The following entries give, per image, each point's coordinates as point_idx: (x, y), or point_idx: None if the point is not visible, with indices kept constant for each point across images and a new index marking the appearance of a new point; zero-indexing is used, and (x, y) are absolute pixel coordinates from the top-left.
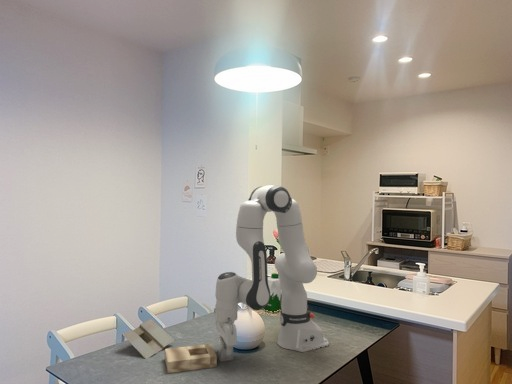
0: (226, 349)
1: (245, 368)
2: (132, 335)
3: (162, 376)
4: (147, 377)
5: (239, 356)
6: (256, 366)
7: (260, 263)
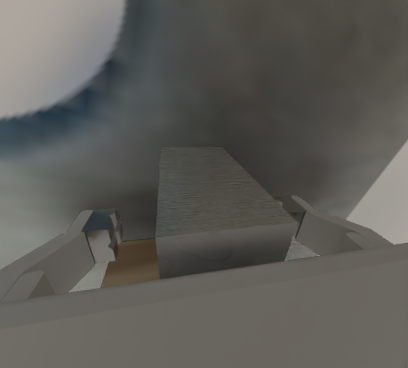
0: (298, 240)
1: (338, 108)
2: None
3: None
4: None
5: (189, 91)
6: (362, 24)
7: None
